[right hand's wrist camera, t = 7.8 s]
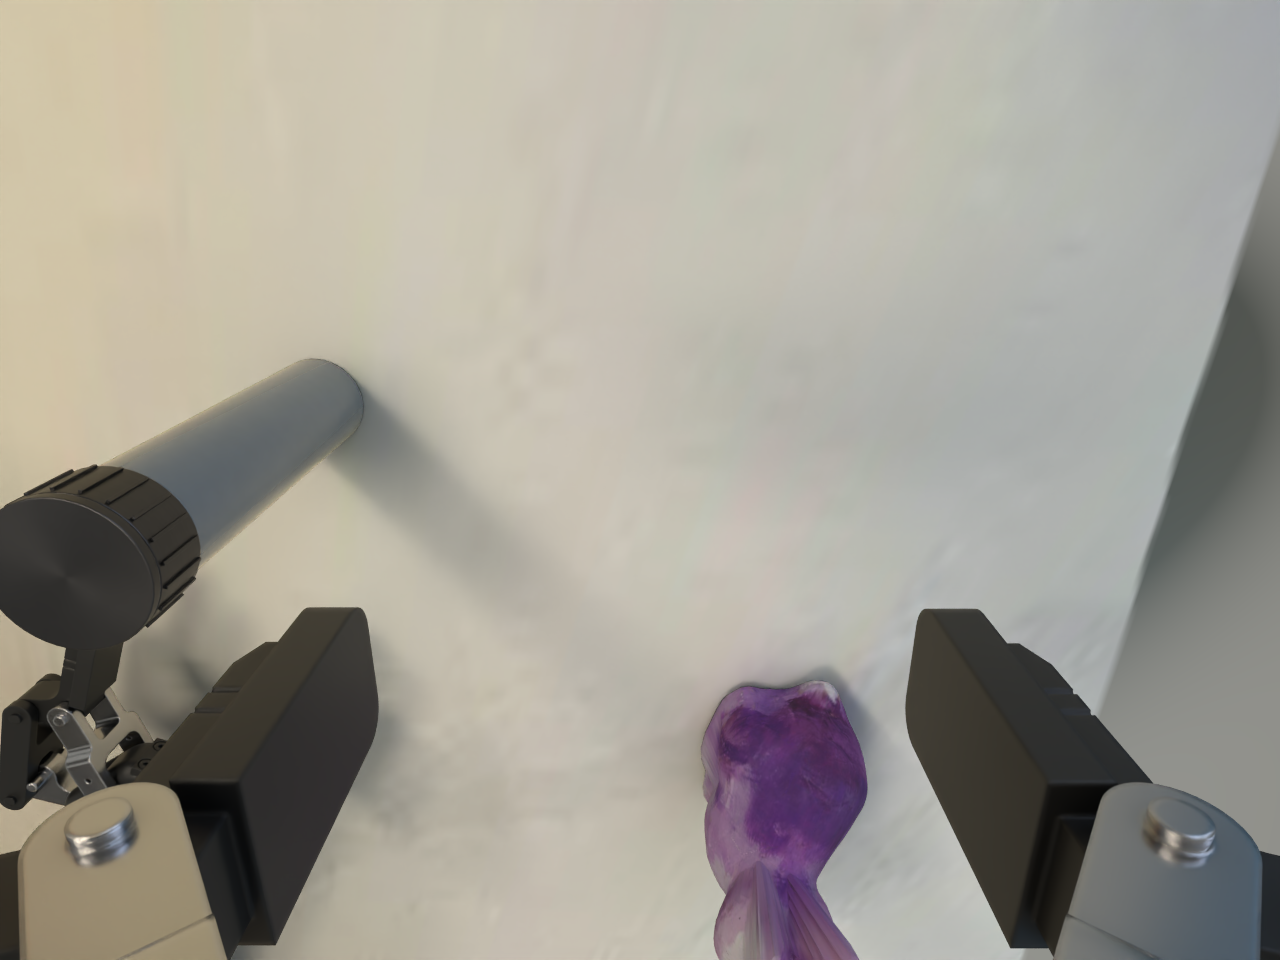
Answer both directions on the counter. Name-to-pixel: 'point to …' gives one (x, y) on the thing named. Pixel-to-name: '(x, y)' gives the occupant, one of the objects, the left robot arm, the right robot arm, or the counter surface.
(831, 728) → the figurine
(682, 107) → the counter surface
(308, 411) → the grey cylinder
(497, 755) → the counter surface
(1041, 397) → the counter surface
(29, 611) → the lid
